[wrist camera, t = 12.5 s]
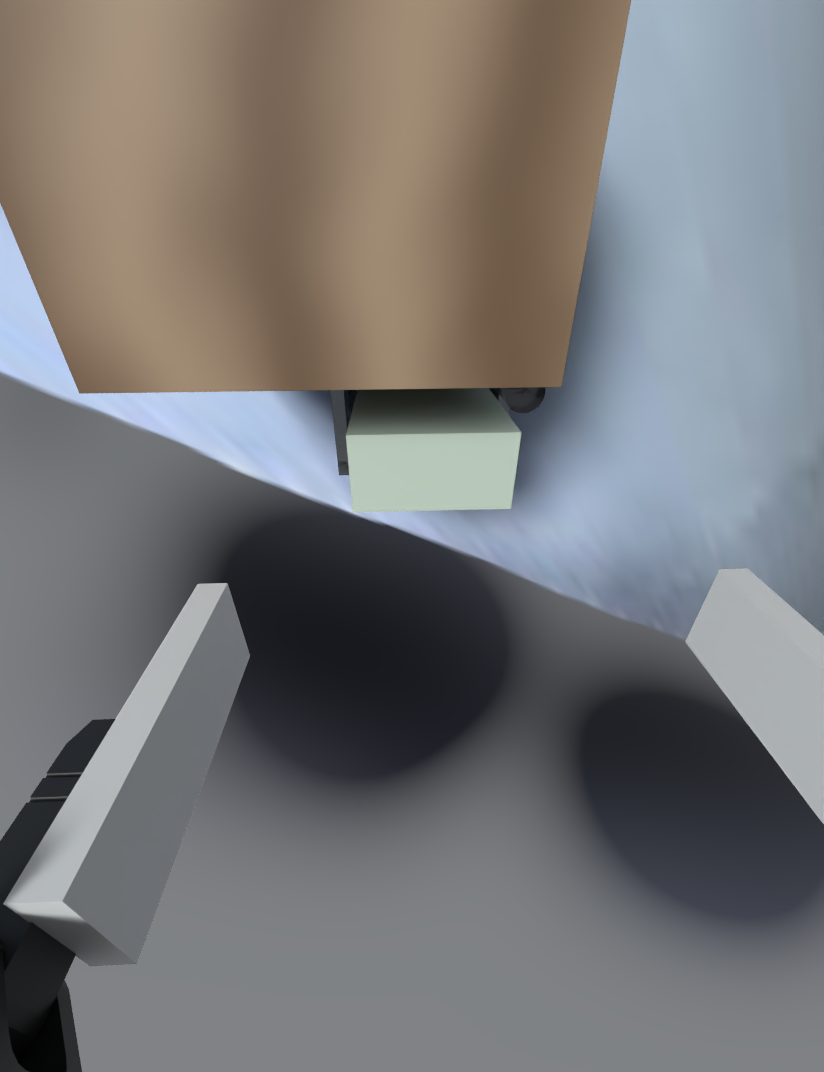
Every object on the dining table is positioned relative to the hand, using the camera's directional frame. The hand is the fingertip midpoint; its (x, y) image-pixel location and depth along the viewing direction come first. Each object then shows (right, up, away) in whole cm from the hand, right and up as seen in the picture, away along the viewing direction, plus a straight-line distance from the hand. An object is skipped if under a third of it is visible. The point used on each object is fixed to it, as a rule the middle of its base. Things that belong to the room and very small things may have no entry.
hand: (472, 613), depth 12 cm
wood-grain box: (-5, +20, +12) cm, 24 cm away
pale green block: (-1, +11, +18) cm, 21 cm away
